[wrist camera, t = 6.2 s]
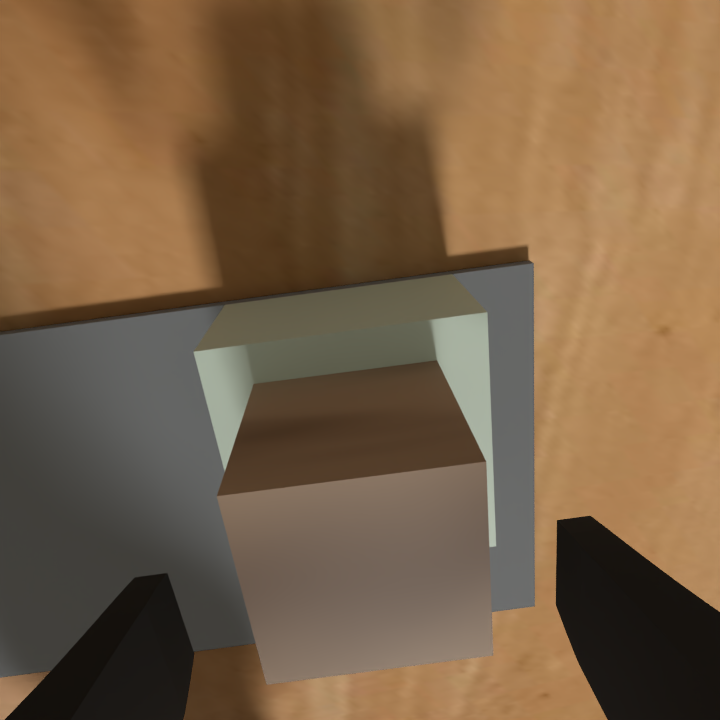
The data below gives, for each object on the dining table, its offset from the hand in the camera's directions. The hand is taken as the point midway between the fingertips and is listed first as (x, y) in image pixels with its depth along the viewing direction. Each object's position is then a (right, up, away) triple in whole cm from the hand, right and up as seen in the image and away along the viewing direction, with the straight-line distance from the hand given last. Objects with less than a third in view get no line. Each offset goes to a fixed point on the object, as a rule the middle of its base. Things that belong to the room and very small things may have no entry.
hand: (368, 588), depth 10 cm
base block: (0, +3, +8) cm, 8 cm away
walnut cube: (0, +2, +4) cm, 4 cm away
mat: (-5, -1, +9) cm, 11 cm away
